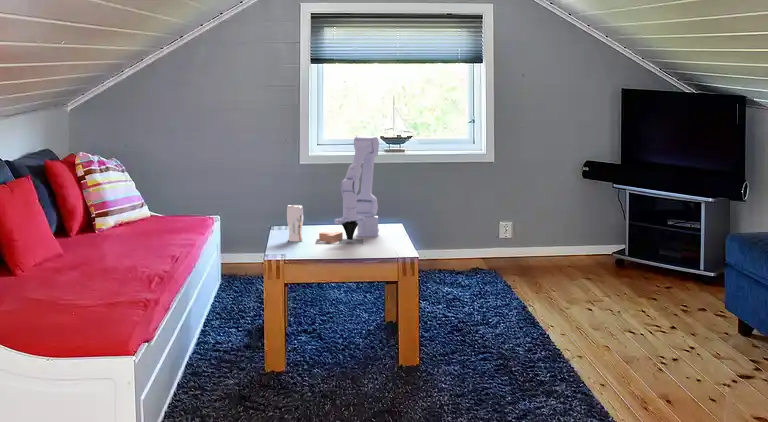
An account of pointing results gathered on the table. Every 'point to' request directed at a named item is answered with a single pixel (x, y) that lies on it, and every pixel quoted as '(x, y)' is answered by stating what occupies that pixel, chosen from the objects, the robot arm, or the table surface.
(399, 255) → the table surface
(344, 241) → the t mat
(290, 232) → the beer glass
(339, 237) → the t block
